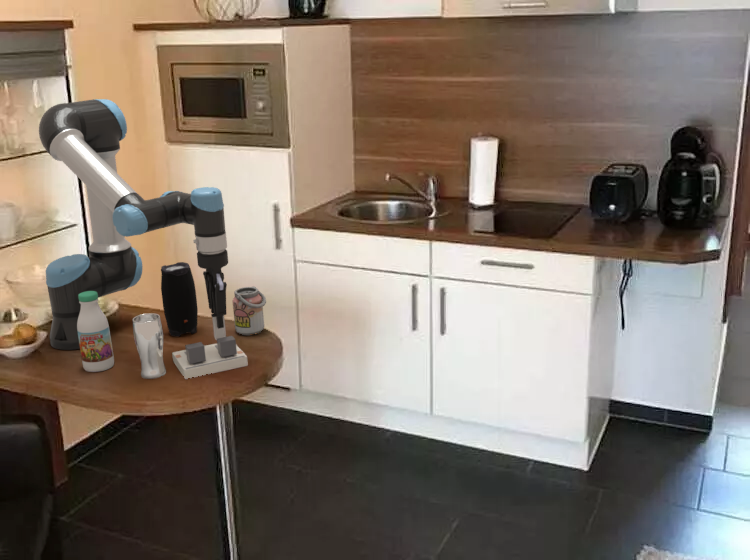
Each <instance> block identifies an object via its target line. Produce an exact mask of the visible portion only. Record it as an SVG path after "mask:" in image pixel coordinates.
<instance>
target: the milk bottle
mask: <svg viewBox="0 0 750 560" xmlns="http://www.w3.org/2000/svg"><path fill="white" fill-rule="evenodd" d="M78 298H79V303H80V304H81V309H80V314H79V317H78V321H77V331H78V338H79V345H80V350H79V351H80V357H81V361H82V362H81V363H82V367H83V370H85V372H89V373H97V372H98V373H99V372H103V371H106V370H109V369H111V368H112V367H114V365H115V357H114V352H113V351H114V350H113V344H112V337H111V331H110V330H111V329H110V326H109V321H108V318H107V316H106V315H105V314H106V313H104V312H103V311H102V308H101V307H100V305H99V302H98V301H99V298H98V294H97V292H96V291H86V292H82V293H80V294H79V295H78Z"/></svg>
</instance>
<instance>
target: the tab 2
mask: <svg viewBox="0 0 750 560" xmlns="http://www.w3.org/2000/svg"><path fill="white" fill-rule="evenodd" d="M216 343H217V346H218V354H219V355H220V356H221V357H226V356H230V355H235V354H237V349H236V345H237V342H236V338H235V337H234V336H233V335H229V336H226V337H223V338H218V339H217V340H216Z"/></svg>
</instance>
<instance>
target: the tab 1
mask: <svg viewBox="0 0 750 560" xmlns="http://www.w3.org/2000/svg"><path fill="white" fill-rule="evenodd" d="M204 346H205V344H203V342H202V341H199V342H195V343H190V344H189V343H188V344H185V346H184V347H185V350H186V355H187V361H188V362H189V363H190V364H193V363H197V362H202V361H206V357H205V348H204Z"/></svg>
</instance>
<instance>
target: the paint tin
mask: <svg viewBox="0 0 750 560" xmlns="http://www.w3.org/2000/svg"><path fill="white" fill-rule="evenodd" d="M266 304H267V299H266V296H265V295H264V294H263V293H262V292H261V291H259V289H258V288H257V287H256V286H254V285H253V286H245V287H240V288H237V289H236V290H234V297H233V298H232V309H233V311H232V312H233V319H234V328H235V331H236V333H237V334H238V333H239V335H240V334H242V335H241V336H251V335H250V334H255V333H258V334H260V333H262V332H263V331H264V330H265V329H264V328H265V318H264V316H265V315H264V308H263V307H264V306H265V305H266ZM262 330H263V331H262ZM261 331H262V332H261ZM259 332H260V333H259ZM255 335H256V334H255Z"/></svg>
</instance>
